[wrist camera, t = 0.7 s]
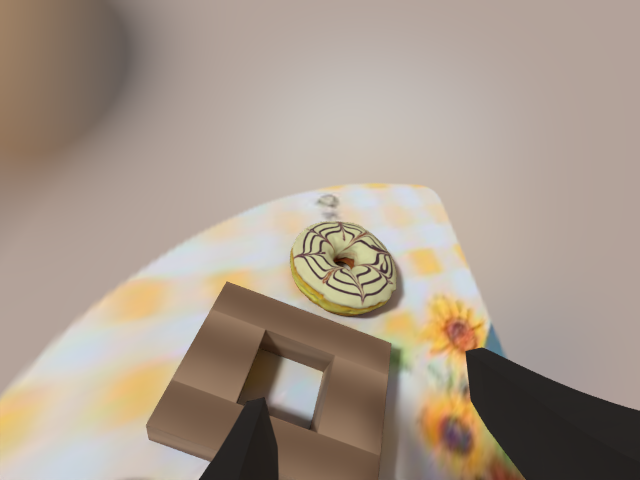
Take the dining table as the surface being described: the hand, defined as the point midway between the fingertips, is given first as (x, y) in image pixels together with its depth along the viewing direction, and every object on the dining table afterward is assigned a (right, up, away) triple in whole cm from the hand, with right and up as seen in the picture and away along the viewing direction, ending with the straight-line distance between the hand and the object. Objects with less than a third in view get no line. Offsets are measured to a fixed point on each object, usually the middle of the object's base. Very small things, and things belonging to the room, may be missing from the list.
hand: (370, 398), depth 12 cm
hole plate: (-5, -6, +14) cm, 16 cm away
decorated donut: (0, +2, +24) cm, 24 cm away
